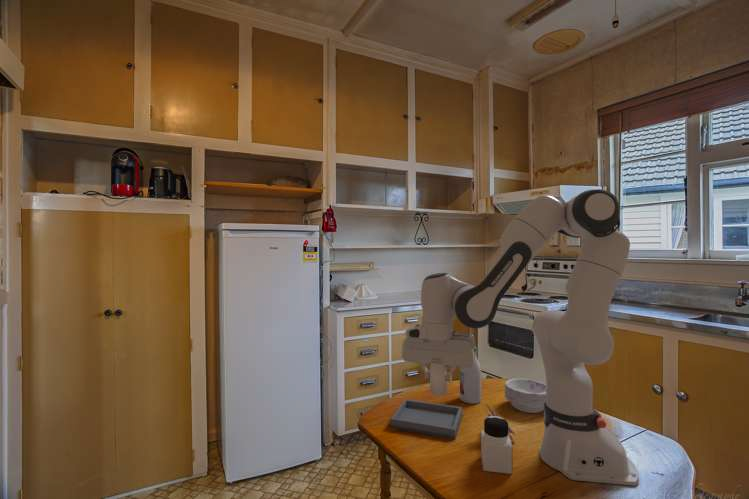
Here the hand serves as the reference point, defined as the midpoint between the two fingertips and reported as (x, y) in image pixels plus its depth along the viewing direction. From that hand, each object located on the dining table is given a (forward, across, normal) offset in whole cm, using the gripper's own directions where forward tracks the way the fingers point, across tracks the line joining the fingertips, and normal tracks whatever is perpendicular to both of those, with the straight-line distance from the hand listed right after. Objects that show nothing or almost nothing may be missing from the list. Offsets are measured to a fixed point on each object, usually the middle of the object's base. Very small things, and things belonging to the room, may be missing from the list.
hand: (438, 379), depth 107 cm
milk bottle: (+20, -5, -36) cm, 42 cm away
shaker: (+4, 0, 0) cm, 4 cm away
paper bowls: (+20, -24, -37) cm, 48 cm away
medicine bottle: (+20, -16, +3) cm, 26 cm away
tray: (+20, +6, -14) cm, 25 cm away
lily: (+20, -16, -10) cm, 28 cm away
